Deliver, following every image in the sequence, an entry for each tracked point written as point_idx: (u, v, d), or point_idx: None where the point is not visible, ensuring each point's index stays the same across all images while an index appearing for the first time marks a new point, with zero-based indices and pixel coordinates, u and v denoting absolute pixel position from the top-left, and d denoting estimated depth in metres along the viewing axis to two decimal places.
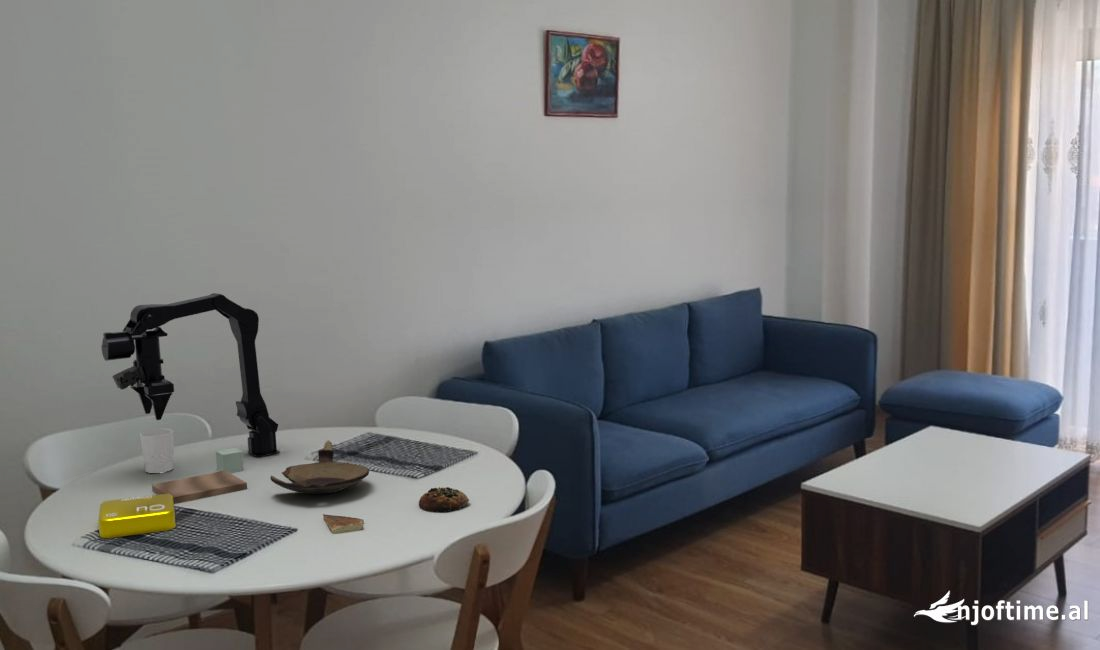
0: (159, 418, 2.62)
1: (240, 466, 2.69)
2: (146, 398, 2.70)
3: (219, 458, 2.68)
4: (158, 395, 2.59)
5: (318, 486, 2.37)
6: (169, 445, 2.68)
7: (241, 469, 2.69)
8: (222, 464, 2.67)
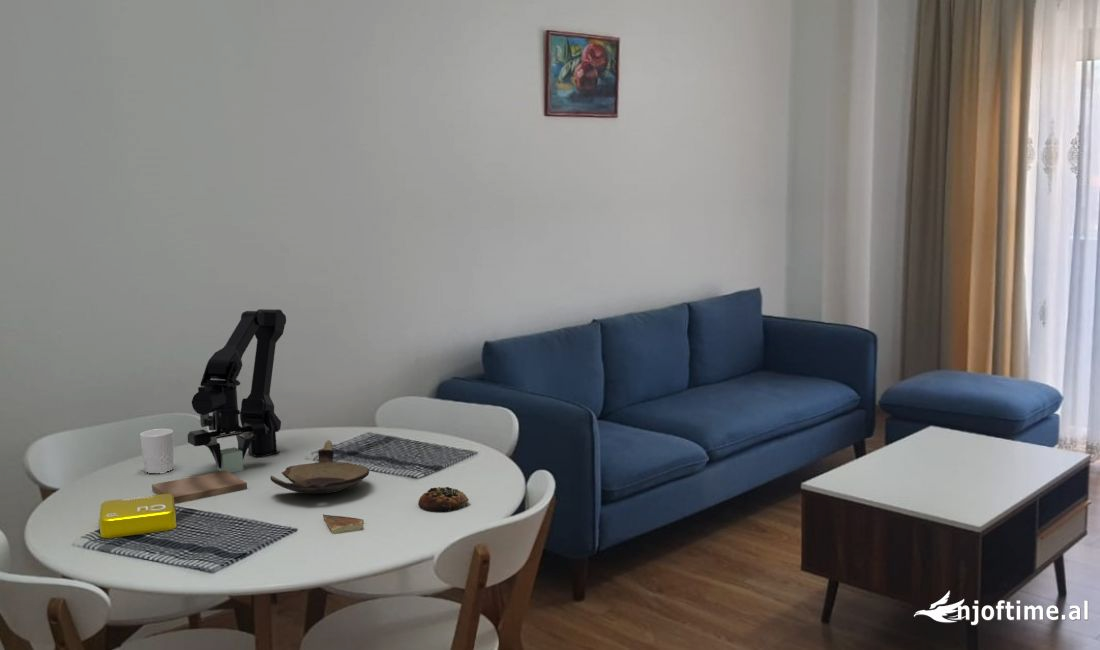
0: (218, 466, 2.68)
1: (240, 466, 2.69)
2: (239, 449, 2.71)
3: None
4: None
5: (318, 486, 2.37)
6: (169, 445, 2.68)
7: (241, 469, 2.69)
8: (222, 464, 2.66)
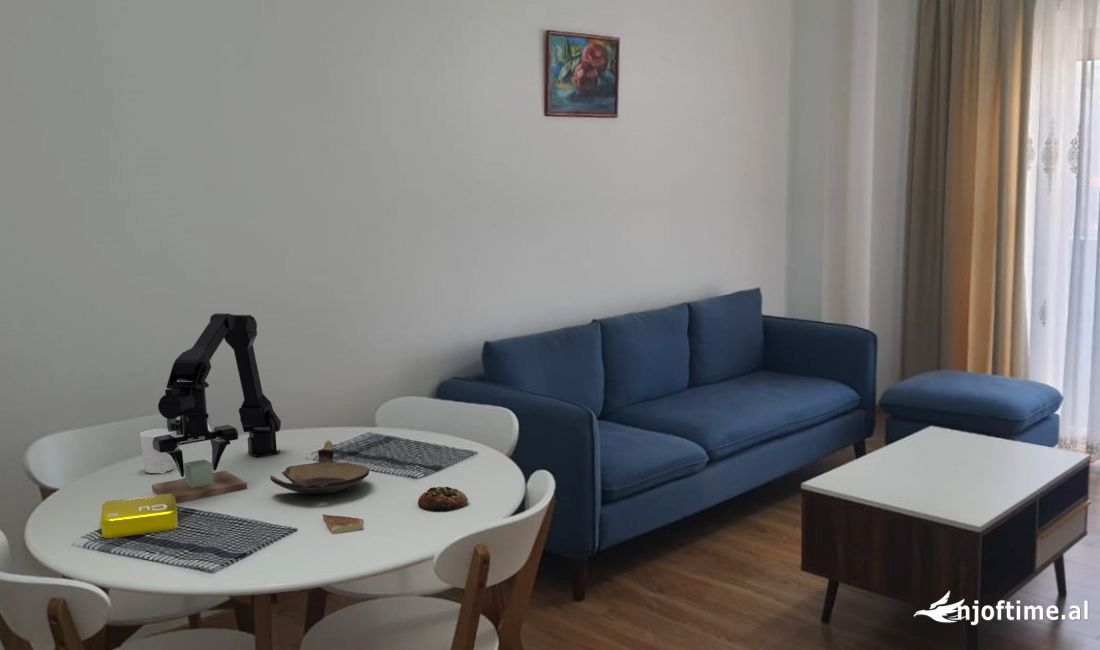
0: (181, 475, 2.50)
1: (210, 479, 2.52)
2: (213, 454, 2.54)
3: (187, 471, 2.51)
4: None
5: (318, 486, 2.37)
6: None
7: (211, 482, 2.52)
8: (190, 477, 2.50)
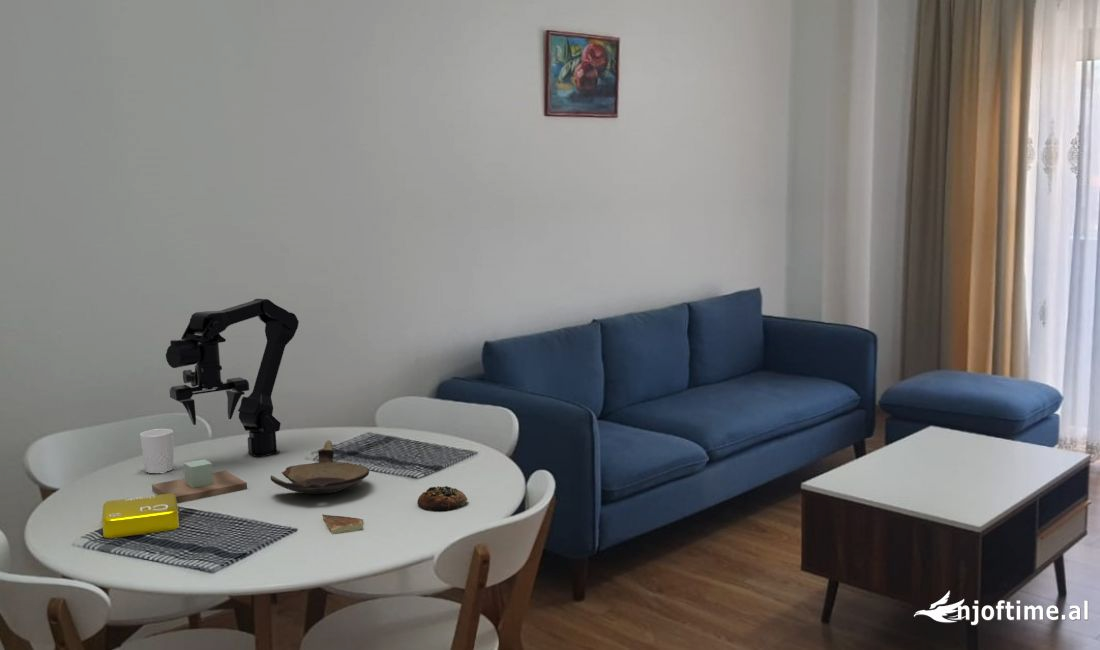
0: (193, 423, 2.68)
1: (210, 479, 2.52)
2: (229, 403, 2.73)
3: (187, 471, 2.51)
4: None
5: (318, 486, 2.37)
6: (169, 445, 2.68)
7: (211, 482, 2.52)
8: (190, 477, 2.50)
